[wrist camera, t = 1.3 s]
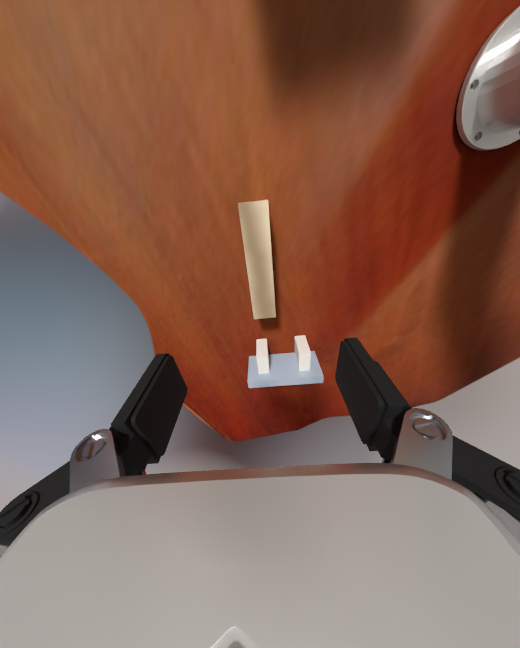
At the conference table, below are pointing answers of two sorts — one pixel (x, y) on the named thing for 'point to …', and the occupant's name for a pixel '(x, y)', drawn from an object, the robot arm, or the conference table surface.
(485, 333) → the conference table surface
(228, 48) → the conference table surface
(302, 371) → the slotted stand base
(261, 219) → the rail
